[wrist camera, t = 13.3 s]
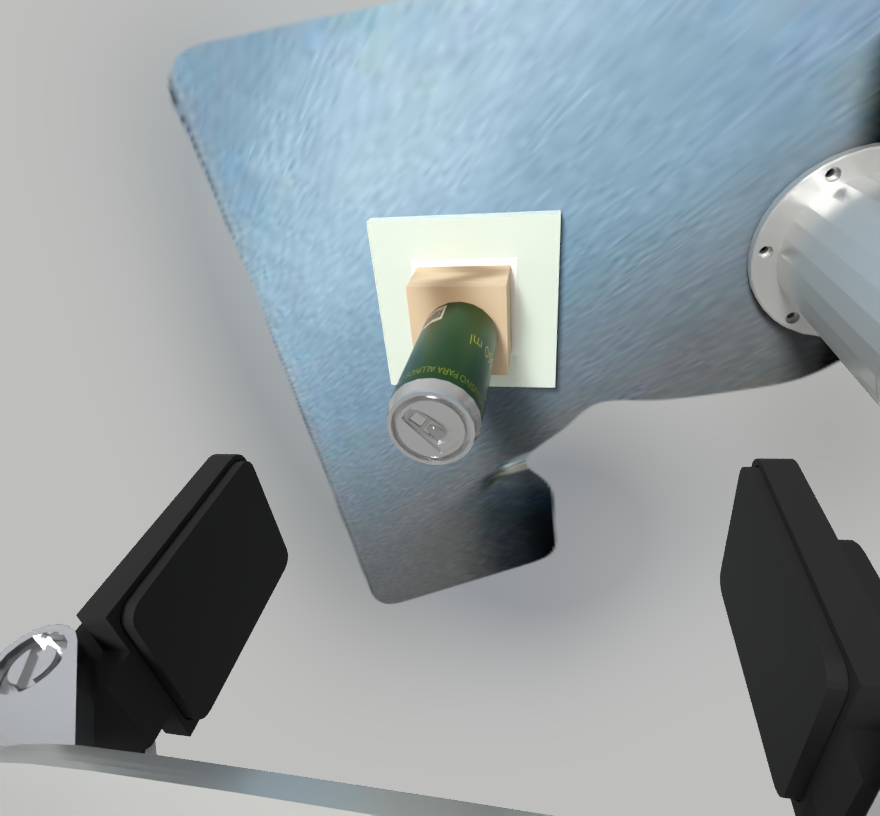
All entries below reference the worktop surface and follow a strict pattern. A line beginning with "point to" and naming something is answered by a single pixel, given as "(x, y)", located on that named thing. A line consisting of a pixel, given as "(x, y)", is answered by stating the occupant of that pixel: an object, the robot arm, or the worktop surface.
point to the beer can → (444, 385)
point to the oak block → (465, 300)
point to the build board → (475, 244)
